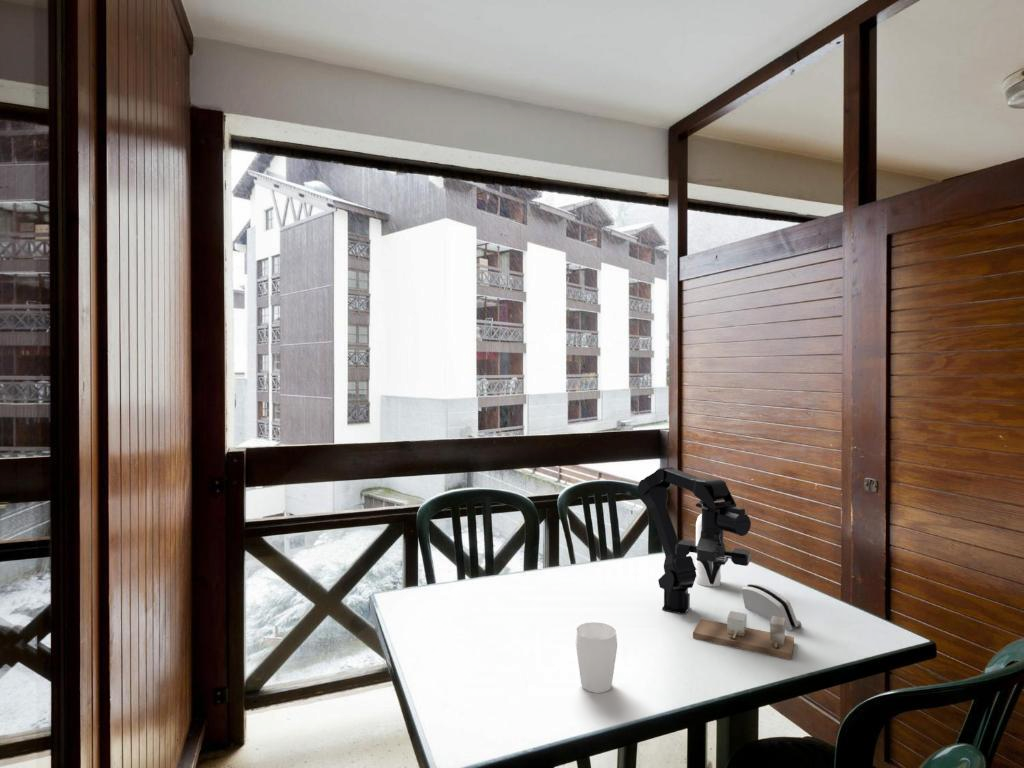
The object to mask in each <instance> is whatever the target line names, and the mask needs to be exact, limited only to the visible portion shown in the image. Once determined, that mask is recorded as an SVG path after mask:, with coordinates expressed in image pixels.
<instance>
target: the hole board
mask: <svg viewBox="0 0 1024 768" xmlns="http://www.w3.org/2000/svg"><path fill="white" fill-rule="evenodd" d="M733 635H734V634H729V633H727V622H725V623H724V622H721V621H716V620H711V619H706V618H700V619H699V621H698V623H697V624H696V626H695V628H694V630H693V631H692V638H693V639H695V640H699V641H700V640H701V641H704V642H709V643H713V644H714V643H715V644H719V645H724V646H727V647H731V648H737V649H742V650H746V651H750V652H755V653H759V654H764V655H769V656H772V657H777V658H783V659H787V660H792V657H793V652H794V644H795V637H794V636H789V635H786V629H785V618H782V617H777V616H772V618H771V621H769V631H765V630H760V629H755V628H751V627H747V629H746V632H745V635H744V636H739V635H736V637H735V638H733Z"/></svg>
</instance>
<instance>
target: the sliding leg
mask: <svg viewBox="0 0 1024 768" xmlns="http://www.w3.org/2000/svg"><path fill="white" fill-rule="evenodd" d="M747 616H748V615H747V613H744V612H739V611H733V610H730V611H729V613H728V615H727V620H726V621H727V622H726V623H727V633H729V634H734V635H733V638H735V637H736V635H739V636H744V635H745V632H746V629H747V628H748V627H747V625H748V624H747V620H748V619H747Z"/></svg>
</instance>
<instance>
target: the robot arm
mask: <svg viewBox="0 0 1024 768" xmlns="http://www.w3.org/2000/svg"><path fill="white" fill-rule="evenodd" d="M672 485H674V486H675V487H678V488H681V489H684V490H685V491H689V492H691V493H692V494H693V495H694V497H696V499H698V500H699V501H698V502H697V503H696V504H695V507H697V508H700V509H701V514H702V529H701V537H700V540H699V542H698V545H697V546H696V543H695V541H693V540H685V539H681V540H679V539H678V535H677V532H676V530H675V527H674V524H673V522H672V518H671V515H670V512H669V508H668V506H667V502H668V497H669V494H668V493H669V492H668V490H669V488H671V487H672ZM637 492H638V495H639V497H640V498H641V499H640V500H641V501H642V503H643V504H644V505H645V506H647V508H649V510H650V512H651V515H652V519H653V523H654V525H655V528H656V531H657V534H658V537H659V541H660V543H661V546H662V550H663V553H664V556H665V557H664V563H663V570H664V574H663V575H662V576H661V577H660V578H658V579H657V581H658V585H659V588H661V589H662V590H663V606H662V609H661V610H662V611H668V612H672V613H677V614H682V615H686V613H687V611H688V610H689V609H690V607H691V606H690V605H691V604H690V603H691V602H690V601H691V593H689V589H692V588H693V586H694V584H695V582H696V565H695V564H694V561H693V560H694V559H693V558H692V556H691V555H689V554H690V553H692V554H693V553H695V554H696V553H697V558H696V557H695V560H696V559H697V561H700V562H701V563H702V564H703V566H704V568H705V570H706V573H707V576H708V579H709V582H710V584H714V582H715V579H716V576H717V574H718V571H719V569H720V570H721V568H722V566H725V564H726V563H727V562H728V561H729V559H730V560H731V562H732V563H733V564H734V565H739V566H744V567H746V566H747V567H748V566H749V564H750V562H751V559H752V558H751V557H752V556H751V555H752V554H751V551H750V550H749V549H744V548H737V547H734V549H733V550H732V551H731V550H726V545H725V542H724V541H725V539H724V538H725V535H724V534H725V533H724V532H728V533H731V534H734V535H736V536H740V537H744V536H747V534H748V533H749V531H750V530H751V525H752V521H751V520H750V516H749V515H748V514H747V513H746V509H745V508H742V507H737V503H736V501H735V499H734V497H733V495H732V494H731V492H730V490H729V488H728V485H727V483H726V481H725V480H723V479H719V478H709V477H708V478H706V477H705V478H702V477H700V476H696V475H693V474H690V473H689V472H688V473H687V472H684V471H682V470H679V469H676V468H674V467H672V466H664V467H659V468H658V469H656V470H655V471H654V472H653V473H651V474H649V475H648V476H646V477H644V478H643V479H641V480H640V481H639V482H638V485H637ZM712 562H713V570H712Z"/></svg>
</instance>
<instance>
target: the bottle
mask: <svg viewBox="0 0 1024 768" xmlns="http://www.w3.org/2000/svg"><path fill="white" fill-rule="evenodd" d="M701 529H702V513H700V515H698V516H697V519H696V522H695V546H697V545H698V542H699V540H700V537H701ZM696 558H697V553H695V568H696V570H695V571H696V578H695V582H696V584H698V585H700V586H703V587H709V588H712V587H718V586H720V585H721V581H722V580H721V579H722V578H721V577H722V574H721V568H720V569H719V571H718V574H717V576H716V579H715V582H714V584H710V582H709V579H708V576H707V573H706V570H705V568H704V566H703V564H702V563H701V562H700V561H697V559H696ZM712 570H713V562H712Z"/></svg>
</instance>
